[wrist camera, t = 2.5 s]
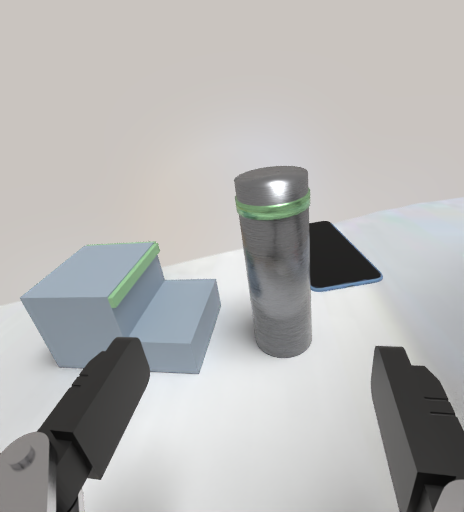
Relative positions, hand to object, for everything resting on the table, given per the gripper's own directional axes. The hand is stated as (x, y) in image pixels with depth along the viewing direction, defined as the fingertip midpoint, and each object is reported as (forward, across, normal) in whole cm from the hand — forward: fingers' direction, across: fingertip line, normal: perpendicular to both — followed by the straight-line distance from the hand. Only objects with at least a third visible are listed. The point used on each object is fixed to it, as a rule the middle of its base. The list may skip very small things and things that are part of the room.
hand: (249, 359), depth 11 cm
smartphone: (+26, -4, +10) cm, 28 cm away
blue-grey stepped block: (+12, +12, +10) cm, 19 cm away
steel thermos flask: (+12, 0, +10) cm, 15 cm away
